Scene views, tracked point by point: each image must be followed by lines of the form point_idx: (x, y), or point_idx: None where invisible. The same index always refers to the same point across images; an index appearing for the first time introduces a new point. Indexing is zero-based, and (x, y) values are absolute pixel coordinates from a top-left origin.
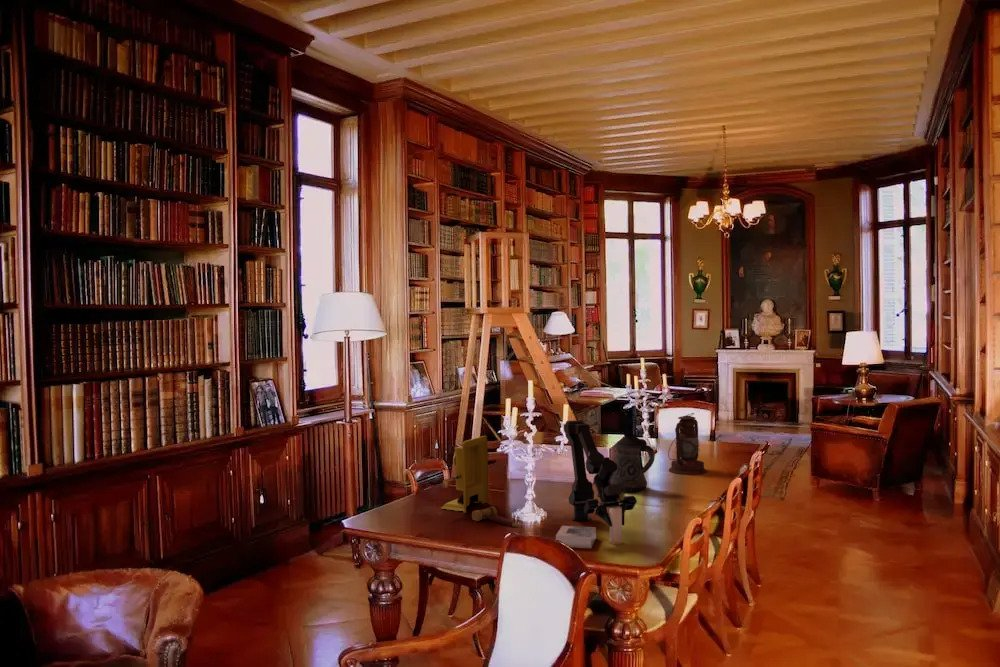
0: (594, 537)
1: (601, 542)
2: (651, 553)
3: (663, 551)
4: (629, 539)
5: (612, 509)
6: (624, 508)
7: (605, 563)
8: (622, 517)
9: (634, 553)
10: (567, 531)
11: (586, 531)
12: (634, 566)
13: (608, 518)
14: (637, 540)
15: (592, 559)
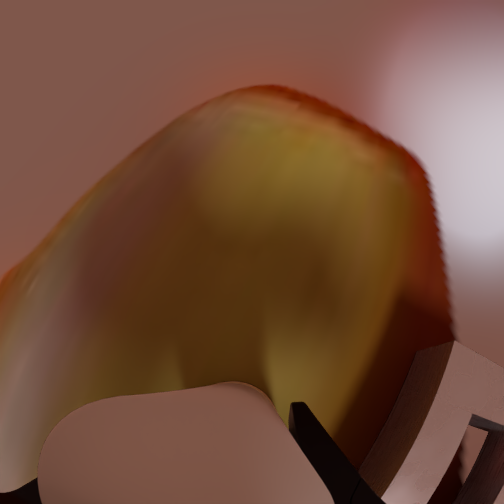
0: None
1: None
2: (151, 185)
3: (94, 196)
4: None
5: (307, 460)
6: (11, 497)
7: (387, 145)
8: None
9: (223, 204)
10: (499, 485)
11: (436, 475)
12: (293, 97)
13: (328, 460)
14: None
15: (430, 196)
